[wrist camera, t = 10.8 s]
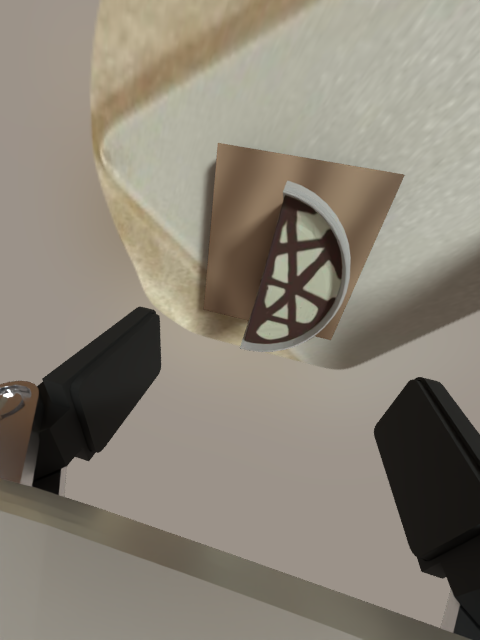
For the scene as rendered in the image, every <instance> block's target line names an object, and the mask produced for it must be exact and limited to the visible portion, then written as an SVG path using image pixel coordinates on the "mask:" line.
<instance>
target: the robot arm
mask: <svg viewBox="0 0 480 640" xmlns="http://www.w3.org/2000/svg"><path fill="white" fill-rule="evenodd" d="M160 370H161V347H160V318H159V315H157V314H156V312H155V311H154V310H152V309H148V308H143V307H138V308H136V309H135V310H133V311H132V312H131V313H129V314H128V315H127V316H126V317H124V318H123V319H122V320H120V321H119V322H117V323H116V324H115V325H113V326H112V327H111V328H109V329H108V330H107V331H105V332H104V333H103V334H101V335H100V336H99V337H98V338H96V339H95V340H93V341H92V342H91V343H89V344H88V345H87V346H85V347H84V348H83V349H81V350H80V351H79V352H77V353H76V354H75V355H73V356H72V357H71V358H69V359H68V360H67V361H65V362H64V363H63V364H62V365H60V366H59V367H57V368H56V369H55V370H53V371H52V372H51V373H49V374H48V375H47V376H45V377H44V378H43V382H42V383H41V384H40V385H38V386H36V385H35V384H33V383H31V382H28V381H12V382H7V383H3V384H0V640H480V434H479V433H478V432H477V430H476V429H475V428H474V427H473V425H472V424H471V423H470V421H469V420H468V418H467V417H466V416H465V414H464V413H463V412H462V410H461V409H460V408H459V406H458V405H457V404H456V402H455V401H454V400H453V398H452V397H451V396H450V394H449V393H448V392H447V390H446V389H445V387H444V386H443V385H442V384H441V383H440V382H437V381H434V380H430V379H426V378H422V377H418V378H416V379H414V380H410V381H409V382H408V383H407V385H406V386H405V387H404V389H403V390H402V391H401V393H400V394H399V395H398V397H397V398H396V399H395V400H394V402H393V403H392V405H391V406H390V407H389V409H388V410H387V411H386V412H385V414H384V415H383V416H382V418H381V419H380V420H379V422H378V423H377V424H376V426H375V428H374V436H375V439H376V442H377V446H378V449H379V452H380V455H381V458H382V462H383V465H384V468H385V471H386V474H387V477H388V480H389V484H390V487H391V490H392V493H393V496H394V499H395V503H396V506H397V509H398V512H399V515H400V518H401V522H402V525H403V528H404V531H405V534H406V537H407V541H408V544H409V546H410V549H411V551H412V553H413V554H414V555H415V556H417V559H418V562H419V565H420V568H421V571H422V572H424V573H428V574H430V575H433V576H436V577H440V578H445V577H447V579H448V582H449V585H450V587H451V591H450V594H449V598H448V601H447V605H446V609H445V612H444V616H443V620H442V623H441V627H440V628H438V627H435V626H432V625H429V624H427V623H424V622H421V621H418V620H415V619H413V618H410V617H407V616H404V615H401V614H399V613H396V612H393V611H390V610H388V609H385V608H382V607H379V606H376V605H374V604H371V603H368V602H365V601H362V600H360V599H357V598H354V597H351V596H348V595H346V594H343V593H340V592H337V591H334V590H331V589H328V588H326V587H323V586H320V585H317V584H314V583H312V582H309V581H305V580H303V579H300V578H297V577H295V576H292V575H289V574H286V573H283V572H280V571H278V570H275V569H272V568H269V567H266V566H263V565H260V564H258V563H255V562H252V561H249V560H246V559H243V558H241V557H238V556H235V555H232V554H229V553H226V552H224V551H220V550H218V549H215V548H212V547H209V546H207V545H204V544H201V543H198V542H195V541H192V540H189V539H186V538H183V537H181V536H178V535H175V534H172V533H169V532H166V531H163V530H160V529H157V528H155V527H152V526H149V525H146V524H143V523H140V522H137V521H134V520H131V519H129V518H126V517H123V516H120V515H117V514H114V513H111V512H108V511H106V510H103V509H99V508H97V507H94V506H90V505H88V504H84V503H81V502H78V501H75V500H72V499H69V498H65V483H66V469H67V465H68V464H69V463H70V462H71V460H72V459H73V458H74V457H78V458H81V459H84V460H87V461H89V460H90V459H91V458H92V457H93V455H94V454H95V453H96V452H97V453H98V452H100V451H102V450H103V448H104V447H105V446H106V445H107V443H108V442H109V441H110V439H111V438H112V437H113V435H114V434H115V433H116V431H117V430H118V428H119V427H120V426H121V424H122V423H123V422H124V420H125V419H126V418H127V416H128V415H129V414H130V412H131V411H132V410H133V408H134V407H135V406H136V404H137V403H138V401H139V400H140V399H141V397H142V396H143V395H144V393H145V392H146V391H147V389H148V388H149V387H150V385H151V384H152V383H153V381H154V380H155V379H156V377H157V376H158V374H159V372H160Z"/></svg>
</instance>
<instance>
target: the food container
mask: <svg viewBox="0 0 480 640" xmlns="http://www.w3.org/2000/svg"><path fill="white" fill-rule="evenodd" d="M350 261H351V257H350V249H349V243H348V240H347V237H346V233H345V230H344V228H343V226H342V224H341V223H340V221H339V219H338V217H337V215H336V214H335V213H334V212H333V210H332V209H331V208H330V207H329V205H328V204H327V203H326V202H325V201H323V200H322V199H321V198H320V197H319V196H318V195H316V194H315V193H314V192H312V191H310V190H308V189H307V188H305V187H303V186H301V185H299V184H296V183H293V182H290V181H287V182H286V185H285V188H284V190H283V204H282V206H281V209H280V212H279V218H278V221H277V225H276V227H275V232H274V235H273V238H272V243H271V247H270V250H269V254H268V257H267V259H266V265H265V268H264V272H263V275H262V278H261V279H260V284H259V285H260V286H259V289H258V292H257V293H256V294H257V297H256V300H255V301H254V302H255V303H254V306H253V310H252V313H251V316H250V319H249V322H248V325H247V328H246V331H245V334H244V337H243V340H242V343H241V346H240V349H245V350H249V351H258V352H273V351H279V350H285V349H288V348H292V347H295V346H297V345H299V344H301V343H304V342H306V341H307V340H309V339H310V338H312V337H314V336H315V335H316V334H317V333H319V332H320V331H321V330H322V329H323V328H324V327H325V326H326V325H327V324H328V323H329V322H330V320H331V319H332V318H333V317H334V316H335V314H336V313H337V311H338V309H339V308H340V306H341V305H342V302H343V300H344V297H345V295H346V292H347V288H348V284H349V279H350Z"/></svg>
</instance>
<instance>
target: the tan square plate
mask: <svg viewBox="0 0 480 640" xmlns="http://www.w3.org/2000/svg"><path fill="white" fill-rule="evenodd" d="M403 177H404V175H403V174H397V173H391V172H386V171H380V170H374V169H368V168H362V167H356V166H350V165H344V164H339V163H333V162H327V161H321V160H315V159H309V158H303V157H298V156H292V155H286V154H280V153H274V152H268V151H262V150H256V149H251V148H245V147H239V146H233V145H227V144H221V143H218V148H217V159H216V171H215V183H214V194H213V206H212V218H211V229H210V241H209V253H208V264H207V276H206V288H205V299H204V310H208V311H212V312H216V313H220V314H224V315H229V316H233V317H237V318H241V319H245V320H249V319H250V316H251V313H252V310H253V306H254V303H255V302H254V301H255V300H256V297H257V294H256V293H257V292H258V289H259V286H260V285H259V284H260V279H261V278H262V275H263V272H264V268H265V265H266V259H267V257H268V254H269V250H270V247H271V243H272V238H273V235H274V232H275V227H276V225H277V221H278V218H279V212H280V209H281V206H282V204H283V190H284V188H285V185H286V182H287V181H290V182H293V183H296V184H299V185H301V186H303V187H305V188H307V189H308V190H310V191H312V192H314V193H315V194H316V195H318V196H319V197H320V198H321V199H322V200H323V201H325V202H326V203H327V204H328V205H329V207H330V208H331V209H332V210H333V212H334V213H335V214H336V215H337V217H338V219H339V221H340V223H341V224H342V226H343V228H344V230H345V233H346V237H347V240H348V243H349V249H350V257H351V261H350V279H349V284H348V288H347V292H346V295H345V297H344V300H343V302H342V305H341V306H340V308H339V309H338V311H337V313H336V314H335V316H334V317H333V318H332V319H331V320H330V322H329V323H328V324H327V325H326V326H325V327H324V328H323V329H322V330H321V331H320V332H319V333H317V334H316V335H315V336H316V337H320V338H324V339H328V340H331V338H332V336H333V334H334V332H335V330H336V327H337V325H338V323H339V321H340V318H341V316H342V314H343V312H344V309H345V307H346V305H347V303H348V300H349V298H350V296H351V294H352V291H353V289H354V287H355V285H356V283H357V280H358V278H359V276H360V274H361V271H362V269H363V267H364V265H365V262H366V260H367V258H368V256H369V253H370V251H371V249H372V247H373V244H374V242H375V240H376V238H377V236H378V233H379V231H380V229H381V227H382V224H383V222H384V220H385V218H386V215H387V213H388V211H389V209H390V206H391V204H392V202H393V200H394V197H395V195H396V193H397V191H398V189H399V186H400V184H401V182H402V180H403Z"/></svg>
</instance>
